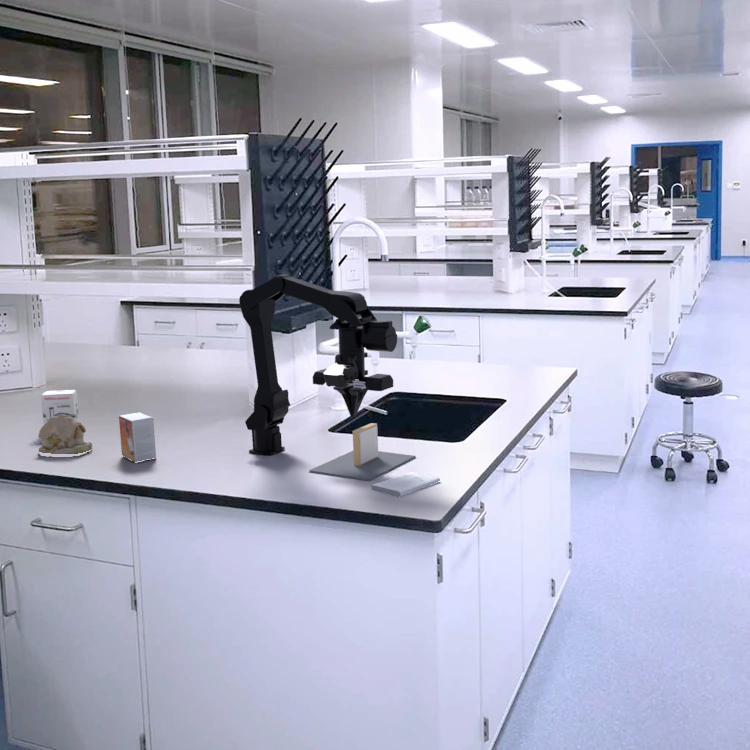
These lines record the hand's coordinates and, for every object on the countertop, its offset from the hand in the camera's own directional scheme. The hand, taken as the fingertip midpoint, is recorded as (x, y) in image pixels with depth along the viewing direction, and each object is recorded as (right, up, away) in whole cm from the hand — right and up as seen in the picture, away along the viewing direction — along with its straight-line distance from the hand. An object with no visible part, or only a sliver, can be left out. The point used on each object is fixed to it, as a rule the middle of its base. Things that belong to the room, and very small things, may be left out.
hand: (353, 416), depth 205 cm
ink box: (-80, -7, +39) cm, 90 cm away
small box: (-52, -11, +11) cm, 54 cm away
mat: (+2, -11, -2) cm, 11 cm away
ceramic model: (-73, -10, +20) cm, 76 cm away
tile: (+3, -10, 0) cm, 11 cm away
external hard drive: (+12, -14, -18) cm, 26 cm away
